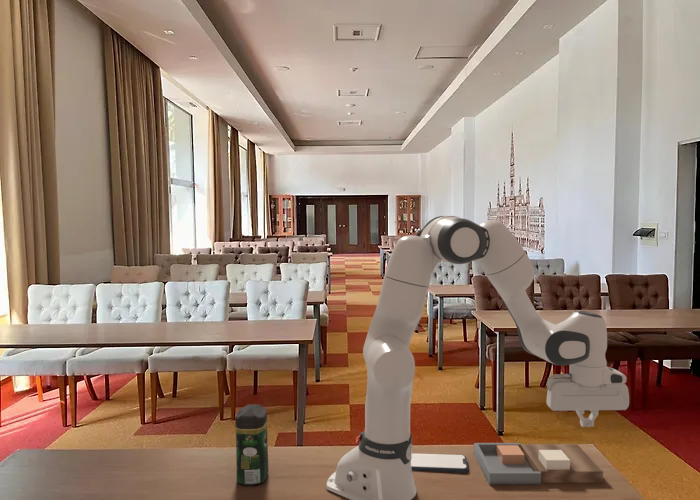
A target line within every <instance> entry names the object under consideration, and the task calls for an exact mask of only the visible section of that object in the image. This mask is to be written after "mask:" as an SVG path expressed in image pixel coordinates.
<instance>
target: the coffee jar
mask: <svg viewBox="0 0 700 500" xmlns="http://www.w3.org/2000/svg"><path fill="white" fill-rule="evenodd" d="M234 418H235V419H234V420H235V421H234V422H235V426H234V428H235V446H236V447H235V448H236V450H235V451H236V452H235V453H236V456H235V459H236V481H237V483H238V484H240V485H244V486H250V487H251V486H256V485H259V484H263V483H264V482H265V481H266V480H267V477H268V474H269V448H268V444H269V443H268V442H269V441H268V412H267V408H266V407H264V406H263V405H262V404H246V405H245V406H243V407H242V408H240V409H238V411H237V413H236V415H235V417H234Z"/></svg>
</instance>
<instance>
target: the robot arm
mask: <svg viewBox="0 0 700 500" xmlns="http://www.w3.org/2000/svg"><path fill="white" fill-rule="evenodd" d="M441 261H443V262H446V263H451V264H453V265H462V264H468V263H471V262H473V261H476V262H477V263H478V264H479V266H480V268H481V270H482V271H483V273H484V274H485V276H486V277H487V279H488V281H489V282H490V283H491V285H492V286H493V288H494V289H495V291H497V293H498V295H499V296H500V298H501V300H502V302H503V304H504V306H505V307H506V309H507V311H508V313H509V315H510V316H511V318H512V320H513V321H514V324H515V326H516V329H517V336H518V341H519V343H520V346H521V348H522V349H523V350H524V351H525V352H527V353H528V354H530V355H532V356H536V357H538V358H539V359H543V360H544V361H546V362H548V363H551V364H552V365H554V366H561V367H564V366H569V370H568V371H569V373H561V374H558V373H554V374H552V375H550V376H549V377H548V378H547V381H546V387H547V392H546V393H547V394H546V403H545V404H546V405H547V406H548V408H550V409H551V411H554V412H557V411H559V412H564V411H569V412H570V411H575V412H576V414H577V416H578V419H579V425H580V426H581V427H582V428H584V427H588V428H589V427H594V426H595V420H596V419H597V417H598V416H599V411H626V410H627V409H628V408H629V405H630V392H629V387H628V386H627V385H626V383H627V376H626V375H625V374H624V373H622V372H621V371H619V370H617V369H615V368H612V367H609V366H607V364H608V361H607V359H606V352H607V349H608V331H607V324H606V320H605V318H604V317H603V316H601V315H599V314H597V313H594V312H590V311H584V310H575V311H573V312H572V314H570V316H568V318H566V319H564V320H563V321H561V322H558V323H556V324H555V323H553V322H551V321H549V320H546V318H543V317H542V316H541V315H539V313H538V312H537V311H536V308H535V306H534V305H533V303H532V301H531V299H530V297H529V296H528V294H527V289H528V288H529V287H530V286H531V284H532V283H533V281H534V278H535V269H534V267H533V264H532V261H531V259H530V258H529V256H528V254H527V252H526V251H525V249H524V248H523V246H522V245H521V243H520V242H519V240H518V238H517V237H515V235H514V234H513V232H511V231H510V229H509V228H508V227H507V226H506V225H505V224H504V223H503V222H501V221H499V220H495V219H492V220H485V221H483V222H481V223H479V224H477V223H476V222H473V221H472V220H469V219H466V218H463V217H459V216H455V215H440V216H436V217H434V218H431V219H430V220H428V221H427V223H426V224H425V225H423V228H421V230H420V231H419V232H418V233H417V234H416V235H413V234H412V235H404V236H402V237H400V238H399V239H398V240H397V241H396V243H395V244H394V247H393V249H392V252H391V254H390V256H389V260H388V261H387V265H386V269H385V273H384V275H383V280H382V285H381V288H380V292H379V297H378V300H377V305H376V308H375V310H374V313H373V317H372V319H371V322H370V325H369V327H368V331H367V335H366V336H365V337H366V338H365V342H364V345H363V347H362V355H363V359H364V362H365V365H366V371H367V372H366V373H367V376H366V377H367V379H366V393H365V394H366V395H365V403H364V406H365V407H364V410H365V411H364V420H365V421H364V422H365V424H364V425H365V426H364V429H363V431H362V432H359V434H358V436H357V437H356V438H355V440H356V441H355V444H357V443H358V444H359V445H357V446H356V447H354V448H352V449H350V450H349V451H348V452H346V453H345V454H344V455H342V457H341V458H340V459H339V461H338V463H337V466H336V470H335V471H334V472H333V473H331V475H330V476H329V477H328V479H327V481H326V490H327V491H330V492H332V493H335V494H336V495H339V496H341V497H343V498H346V499H348V500H413V499H414V498H415V497H416V495H417V487H416V484H415V480H414V475H413V470H412V466H411V458H412V453H413V435H412V434H411V402H412V394H413V388H414V379H415V373H416V364H415V363H416V361H415V357H414V355H413V353H412V351H411V350H410V343H411V340H412V337H413V334H414V333H415V330H416V328H417V325H418V324H419V322H420V320H422V316H423V312H424V307H425V304H426V299H427V296H428V291H429V286H430V282H431V279H432V273H433V272H434V270H435V268H436V266H437V265H438V264H439V263H441ZM585 411H589V412H590V414H589V416H588V417H584V415H585Z"/></svg>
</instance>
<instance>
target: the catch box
mask: <svg viewBox="0 0 700 500" xmlns="http://www.w3.org/2000/svg"><path fill="white" fill-rule="evenodd" d="M497 445H518V446H519V448H520V449H521V443H520V442H473V454H474V456H475V458H476V460H477V462H478V464H479V467H480V469H481V470H482V472H483V474H484V477H485V479H486V482H487V483H488V485H489V486H490V485H491V486H497V485H498V486H519V485H520V486H526V485H527V486H531V485H532V486H535V485H536V486H541V485H542V483H541V472H540V471H533V470H532V469H531V467H530V466H529V464H528V463H527V462H526V460H524V464H502V462H501V461H500V459H499V457H498V456H497Z"/></svg>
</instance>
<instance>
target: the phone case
mask: <svg viewBox="0 0 700 500" xmlns="http://www.w3.org/2000/svg"><path fill="white" fill-rule="evenodd" d="M411 466H412V471H418V472H423V471H424V472H431V473H432V472H434V473H435V472H436V473H438V472H439V473H452V474H453V473H455V474H467V473H468V472H469V467H468V461H467V456H466V455H464V454H449V453H448V454H446V453H443V454H442V453H441V454H440V453H417V452H415V453H414V452H412V458H411Z"/></svg>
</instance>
